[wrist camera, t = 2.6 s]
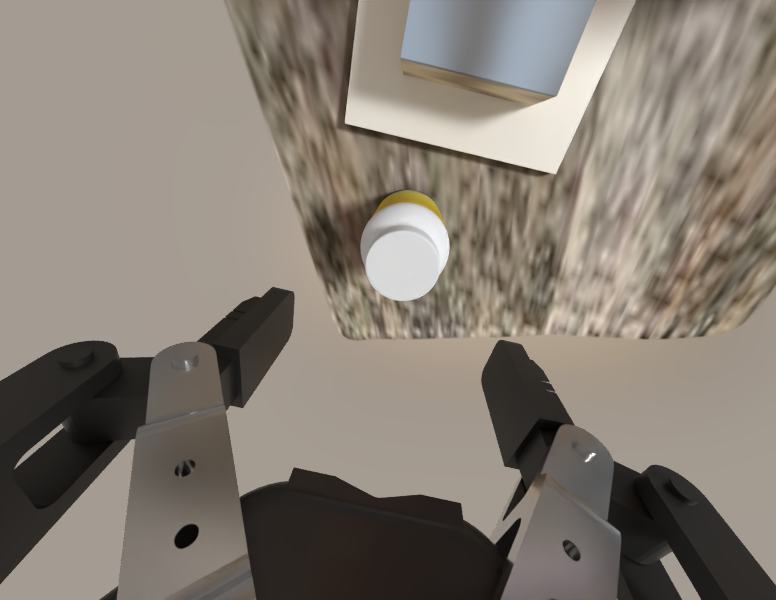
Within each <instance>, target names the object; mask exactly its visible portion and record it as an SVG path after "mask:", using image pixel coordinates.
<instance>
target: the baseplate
mask: <svg viewBox="0 0 776 600" xmlns="http://www.w3.org/2000/svg"><path fill="white" fill-rule="evenodd" d="M635 1H636V0H596V2H595V5H594V7H593V10H592V12H591V15H590V17H589V19H588V22H587V24H586V27H585V29H584V32H583V34H582V36H581V39H580V41H579V44H578V46H577V49H576V51H575V53H574V56H573V58H572V61H571V63H570V66H569V68H568V70H567V73H566V75H565V78H564V80H563V83H562V85H561V87H560V90H559V92H558V95H557V96H556V97H553V98H551V99H548V100H545V101H543V102H540V103H538V104H535V105H532V106H529V105H525V104H521V103H517V102H513V101H509V100H505V99H500V98H496V97H492V96H488V95H484V94H480V93H476V92H472V91H468V90H464V89H460V88H456V87H452V86H448V85H444V84H440V83H436V82H432V81H427V80H423V79H419V78H415V77H411V76H407V75H403V70H402V64H401V59H400V56H401V50H402V45H403V39H404V34H405V28H406V22H407V17H408V11H409V6H410V0H359V2H358V11H357V19H356V28H355V37H354V46H353V55H352V63H351V72H350V81H349V90H348V98H347V107H346V116H345V124H348V125H353V126H357V127H361V128H365V129H369V130H373V131H377V132H382V133H386V134H390V135H394V136H398V137H402V138H406V139H410V140H415V141H419V142H423V143H427V144H431V145H435V146H439V147H444V148H448V149H452V150H456V151H460V152H464V153H468V154H472V155H477V156H481V157H485V158H489V159H493V160H497V161H501V162H506V163H510V164H514V165H518V166H522V167H526V168H530V169H534V170H539V171H543V172H547V173H551V174H556V172H557V170H558V168H559V166H560V164H561V162H562V159H563V157H564V155H565V153H566V151H567V149H568V146H569V144H570V142H571V140H572V138H573V136H574V133H575V131H576V129H577V127H578V125H579V123H580V121H581V118H582V116H583V114H584V112H585V110H586V108H587V105H588V103H589V101H590V99H591V97H592V95H593V92H594V90H595V88H596V86H597V84H598V82H599V79H600V77H601V75H602V73H603V71H604V69H605V66H606V64H607V62H608V60H609V58H610V56H611V53H612V51H613V49H614V47H615V45H616V43H617V40H618V38H619V36H620V34H621V32H622V30H623V27H624V25H625V23H626V21H627V19H628V17H629V14H630V12H631V10H632V8H633V6H634V4H635Z"/></svg>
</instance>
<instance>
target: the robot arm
mask: <svg viewBox="0 0 776 600" xmlns="http://www.w3.org/2000/svg"><path fill="white" fill-rule="evenodd" d="M293 314H294V292H293V291H288V290H284V289H280V288H275V287H272V288H271V289H270V290H269V291H268V292H267V293H266V294H265V295H264V296H262V297H261V298H260V297H253V298H250V299H248V300H246V301H243V302H242V303H241V304H239V305H238V306H237V307H236V308H235V309H234V310H233V312H230V313H229V314H228V315H227V316H226V318H223V319H222V320H221V321H220V322H219V323H218V324H216V325H215V326H214V327H213V328H212V329H211V330H210V331H208V332H207V333H206V334H205V335H204V336H203V337H202V338H200V339H199V340H198V341H197V342H184V343H180V344H176V345H173V346H170V347H168V348H166V349H164V350H162V351H161V352H159V353H158V354H157V355H156V356H155V357H138V358H119V355H118V352H117V349H116V347H115V346H114V345H113V344H111V343H108V342H104V341H84V342H78V343H73V344H69V345H66V346H63V347H60V348H57V349H55V350H53V351H51V352H49V353H47V354H45V355H43V356H42V357H40V358H38V359H37V360H35V361H33V362H32V363H30V364H28V365H27V366H25V367H23V368H22V369H20V370H18V371H16V372H15V373H13V374H11V375H10V376H8V377H7V378H5V379H3V380H1V381H0V584H1V583H2V582H3V581H4V579H5V578H6V577H7V576H8V575H9V574H10V573H11V572H12V571H13V569H14V568H15V567H16V566H17V565H18V564H19V563H20V562H21V561H22V560H23V558H24V557H25V556H26V555H27V554H28V553H29V552H30V551H31V550H32V549H33V547H34V546H35V545H36V544H37V543H38V542H39V541H40V540H41V539H42V537H43V536H44V535H45V534H46V533H47V532H48V531H49V529H51V528H52V526H53V525H54V524H55V523H56V522H57V521H58V520H59V519H60V518H61V516H62V515H63V514H64V513H65V512H66V511H67V510H68V509H69V508H70V507H71V505H72V504H73V503H74V502H75V501H76V500H77V499H78V498H79V496H80V495H81V494H82V493H83V492H84V491H85V490H86V489H87V488H88V487H89V486H90V484H91V483H92V482H93V481H94V480H95V479H96V478H97V477H98V475H99V474H100V473H101V472H102V471H103V470H104V469H105V468H106V466H107V465H108V464H109V463H110V462H111V461H112V460H113V459H114V458H115V457H116V456H117V455H118V453H119V452H120V451H121V450H122V449H123V448H124V447H125V446H126V445H127V443H128V442H129V441H130V440H131V439H135V447H134V455H133V465H132V473H131V481H130V490H129V498H128V508H127V516H126V524H125V533H124V541H123V550H122V559H121V567H120V576H119V584H118V586H117V587H116V588H115V589H114V590H112V591H110V592H109V593H108V594H106V595H105V596H104V597H102V598H101V599H100V600H617V599H618V600H682V599H681V597H680V595H679V593H678V592H677V590H676V588H675V586H674V585H673V583H672V581H671V579H670V577H669V575H668V574H667V572H666V570H665V568H664V566H663V565H662V563H661V561H660V559H661V558H662V557H664V556H665V555H667V554H669V553H670V552H672V551H673V553H674V554H675V556H676V558H677V559H678V561H679V563H680V564H681V566H682V568H683V569H684V571H685V572H686V574H687V576H688V577H689V579H690V581H691V582H692V584H693V586H694V588H695V589H696V591H697V592H698V594H699V596H700V598H701V600H776V585H775V584H774V583H773V581H772V580H771V579H770V577H769V576H768V575H767V574H766V573H765V571H764V570H763V569H762V567H761V566H760V565H759V564H758V562H757V561H756V560H755V559H754V557H753V556H752V555H751V553H750V552H749V551H748V550H747V549H746V547H745V546H744V545H743V543H742V542H741V541H740V540H739V538H738V537H737V536H736V535H735V533H734V532H733V531H732V529H731V528H730V527H729V526H728V524H727V523H726V522H725V521H724V519H723V518H722V517H721V516H720V514H719V513H718V512H717V511H716V509H715V508H714V507H713V505H712V504H711V503H710V502H709V500H707V498H706V497H705V496H704V495H703V494H702V493H701V492H700V491H699V490H698V489H697V488H696V487H695V486H694V485H693V484H692V483H690V482H689V481H688V480H686V479H685V478H684V477H682V476H681V475H679V474H678V473H676V472H674V471H672V470H670V469H668V468H666V467H663V466H659V465H651V466H649V467H648V468H647V469H646V470H645V471H644V472H642V473H641V474H640V473H638V472H636V471H634V470H632V469H630V468H628V467H625V466H623V465H621V464H619V463H617V462H615V461H613V458H612V456H611V454H610V453H609V451H608V450H607V448H606V447H605V446H604V445H603V444H602V443H601V442H600V441H599V440H598V439H597V438H596V437H594V436H593V435H592V434H590V433H589V432H587V431H586V430H584V429H582V428H580V427H577V426H575V425H574V423H573V422H572V420H571V418H570V416H569V415H568V413H567V411H566V409H565V408H564V406H563V404H562V403H561V401H560V399H559V397H558V396H557V394H556V393H555V390H554V389H553V387H552V385H551V384H549V380H548V378H547V376H546V375H545V373H544V371H543V370H542V369H541V368H540V367H539V366H538V365H537V364H536V363H535V362H534V361H533V360H530V359H529V357H528V355H527V353H526V351H525V350H524V348H523V346H522V345H521V344H518V343H514V342H509V341H505V340H499V341H498V342H497V344H496V346H495V347H494V349H493V351H492V354H491V356H490V357H489V359H488V361H487V363H486V365H485V367H484V370H483V373H482V379H481V382H482V387H483V391H484V394H485V398H486V401H487V405H488V409H489V412H490V416H491V419H492V423H493V427H494V430H495V433H496V437H497V441H498V444H499V448H500V452H501V455H502V459H503V462H504V466H505V467H511V468H515V469H519V470H520V473H521V475H522V476H521V477H520V478H519V480H518V481H517V483H516V485H515V487H514V489H513V491H512V493H511V495H510V497H509V500H508V502H507V504H506V506H505V508H504V510H503V512H502V515H501V517H500V519H499V521H498V523H497V525H496V527H495V529H494V531H493V532H492V534H491V536H490V537H489V538H487V537H486V536H485V535H484V534H483V533H482V532H481V531H479V530H478V529H477V528H476V527H474V526H473V525H471V524H470V523H468V522H467V521H465V520H463V515H462V507H461V503H457V502H452V501H448V500H442V499H439V498H434V497H429V496H424V495H410V496H398V497H386V498H376V497H373V496H371V495H369V494H368V493H366V492H364V491H362V490H360V489H358V488H356V487H354V486H352V485H350V484H349V483H347V482H345V481H343V480H341V479H339V478H337V477H336V476H331V475H327V474H321V473H317V472H312V471H307V470H303V469H299V468H294V469H293V471H292V474H291V476H290V479H289V481H286V482H278V483H273V484H269V485H266V486H263V487H260V488H257V489H255V490H253V491H250V492H248V493H246V494H244V495H243V496H241V497H239V492H238V485H237V479H236V473H235V466H234V460H233V454H232V448H231V441H230V434H229V428H228V422H227V415H226V410H227V409H228V408H229V406H230V405H231V406H236V407H240V408H243V407H244V406H245V404H246V403H247V401H248V400H249V398H250V397H251V395H252V394H253V392H254V391H255V389H256V388H257V386H258V385H259V383H260V382H261V380H262V379H263V377H264V376H265V374H266V373H267V371H268V370H269V368H270V367H271V365H272V364H273V362H274V361H275V360H276V358H277V357H278V355H279V353H280V352H281V351H282V349H283V347H284V346H285V345H286V343H287V342H288V340H289V338H290V335H291V332H292V328H293ZM61 423H62V425H63V427H64V428H63V429H62V430H60V431H59V432H58V433H57V434H56V435H55V436H53V437H52V438H51V439H50V440H49V441H47V442H46V443H45V444H44V445H43V446H41V448H39V449H38V450H37V451H36V452H34V453H33V454H32V455H31V456H30V457H29V458H27V459H26V460H25V461H24V462H23V463H21V464H20V465H19V466H18V467H17V468H15V466H16V464H17V463H18V461H19V460H20V459H21V457H22V456H23V455H24V454H25V453H26V452H27V451H28V450H29V449H31V448H32V447H33V446H34V445H36V444H37V443H38V442H39V441H40V440H42V439H43V438H44V437H45V436H46V435H48V434H49V433H50V432H51V431H52V430H53V429H55V428H56V427H57V426H58V425H60V424H61ZM14 468H15V469H14Z"/></svg>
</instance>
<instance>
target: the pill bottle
mask: <svg viewBox="0 0 776 600" xmlns="http://www.w3.org/2000/svg"><path fill="white" fill-rule="evenodd" d="M360 248H361V256H362V260H363V263H364V265H365V270H366V275H367V277H368V280H369V282H370V283H371V285H372V286H373V287H374V289H375V290H376V291H377V292H379V293H380V294H382V295H383V296H385V297H387V298H390V299H393V300H397V301H409V300H413V299H417V298H419V297H421V296H423V295H424V294H426V293H427V292H428V291H429V290H430V289H431V288H432V287H433V286H434V284H435V283H436V281H437V279H438V276H439V274H440V273H441V272H442V270H443V268H444V267H445V265H446V262H447V259H448V255H449V238H448V234H447V230H446V227H445V225H444V222H443V219H442V216H441V214H440V211H439V209H438V207H437V205H436V204H435V202H434V201H433V200H432V199H431V198H430V197H429V196H427V195H426V194H424V193H422V192H420V191H417V190H411V189H405V190H399V191H396V192H394V193H392V194H390V195H389V196H387V197H386V198H385V199H384V200H383V201H382V202H381V203H380V205H379V206H378V208H377V209H376V211H375V212H374V214H373V215H372V217H371V218H370V220H369V221H368V223H367V225H366V227H365V229H364V231H363V234H362V238H361V245H360Z"/></svg>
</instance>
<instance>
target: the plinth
mask: <svg viewBox="0 0 776 600" xmlns="http://www.w3.org/2000/svg"><path fill="white" fill-rule="evenodd" d="M595 2H596V0H410V6H409V11H408V17H407V22H406V28H405V34H404V39H403V45H402V50H401V56H400V59H401V64H402V70H403V75H407V76H411V77H415V78H419V79H423V80H427V81H432V82H436V83H440V84H444V85H448V86H452V87H456V88H460V89H464V90H468V91H472V92H476V93H480V94H484V95H488V96H492V97H496V98H500V99H505V100H509V101H513V102H517V103H521V104H525V105H529V106H532V105H535V104H538V103H540V102H543V101H545V100H548V99H551V98H553V97H556V96H557V95H558V92H559V90H560V87H561V85H562V83H563V80H564V78H565V75H566V73H567V70H568V68H569V66H570V63H571V61H572V58H573V56H574V53H575V51H576V49H577V46H578V44H579V41H580V39H581V36H582V34H583V32H584V29H585V27H586V24H587V22H588V19H589V17H590V15H591V12H592V10H593V7H594V5H595Z"/></svg>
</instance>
